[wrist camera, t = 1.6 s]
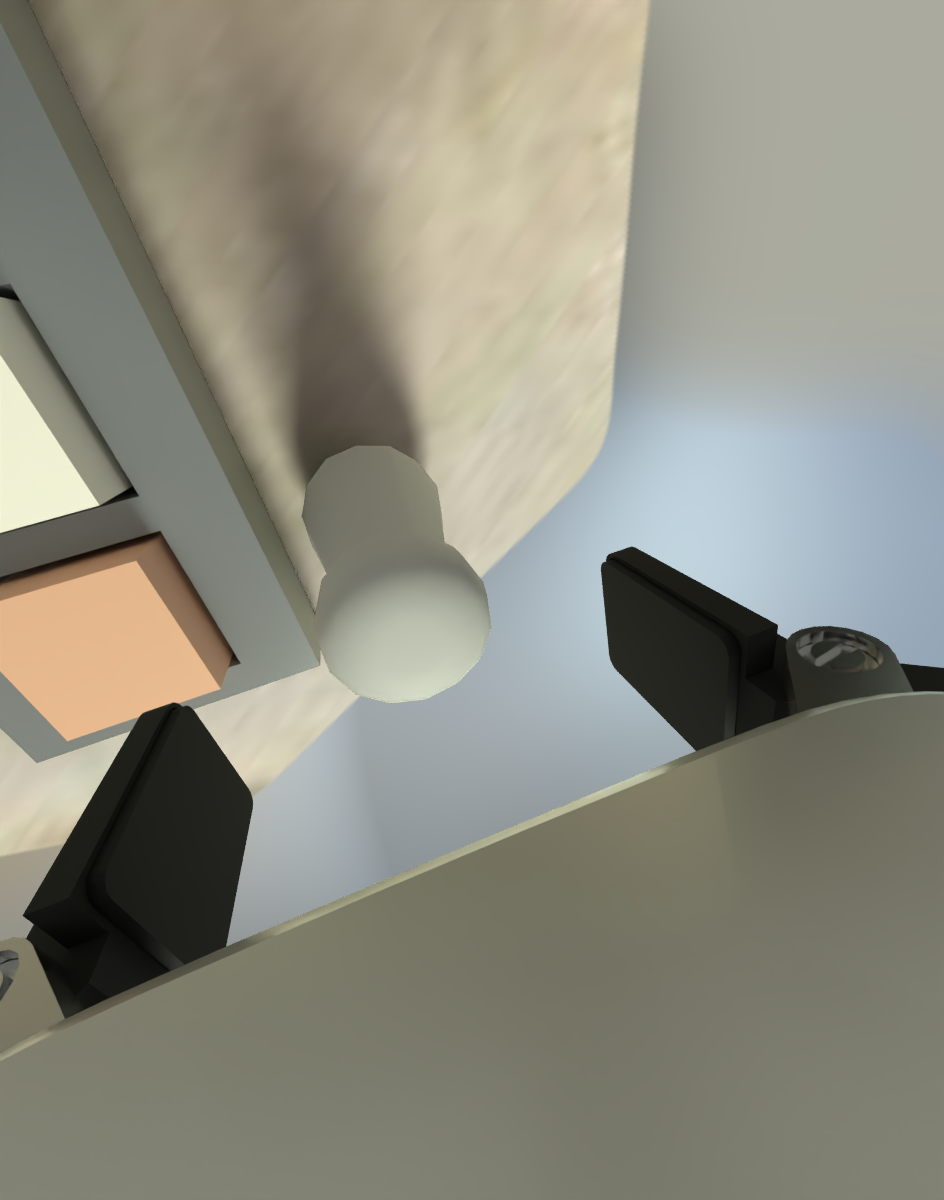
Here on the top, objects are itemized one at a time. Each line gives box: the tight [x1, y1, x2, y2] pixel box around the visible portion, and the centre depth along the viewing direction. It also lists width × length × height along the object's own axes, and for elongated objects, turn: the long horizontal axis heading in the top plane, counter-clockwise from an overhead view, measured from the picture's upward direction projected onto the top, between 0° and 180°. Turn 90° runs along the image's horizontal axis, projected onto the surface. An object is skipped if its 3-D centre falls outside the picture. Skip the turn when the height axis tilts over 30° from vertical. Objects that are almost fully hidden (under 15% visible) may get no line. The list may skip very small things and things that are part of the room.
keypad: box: [0, 0, 321, 763], centre depth 15 cm, size 24×12×4 cm, turn 12°
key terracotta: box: [0, 531, 234, 741], centre depth 17 cm, size 6×6×4 cm
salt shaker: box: [302, 446, 491, 703], centre depth 16 cm, size 6×6×13 cm
